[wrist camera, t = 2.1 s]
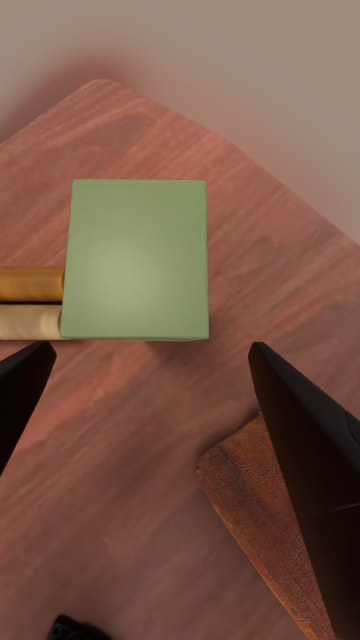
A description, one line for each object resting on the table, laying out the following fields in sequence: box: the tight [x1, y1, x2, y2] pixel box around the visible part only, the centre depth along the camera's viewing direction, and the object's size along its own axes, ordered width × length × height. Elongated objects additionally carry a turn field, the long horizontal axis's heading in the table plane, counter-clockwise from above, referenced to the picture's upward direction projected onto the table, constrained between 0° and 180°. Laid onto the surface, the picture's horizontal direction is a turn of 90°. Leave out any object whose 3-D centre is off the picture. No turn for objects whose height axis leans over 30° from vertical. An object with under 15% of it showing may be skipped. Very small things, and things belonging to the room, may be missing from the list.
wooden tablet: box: [195, 411, 337, 640], centre depth 15 cm, size 27×10×2 cm, turn 37°
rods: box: [0, 267, 69, 340], centre depth 17 cm, size 7×11×3 cm, turn 90°
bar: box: [60, 179, 209, 341], centre depth 12 cm, size 5×4×13 cm
